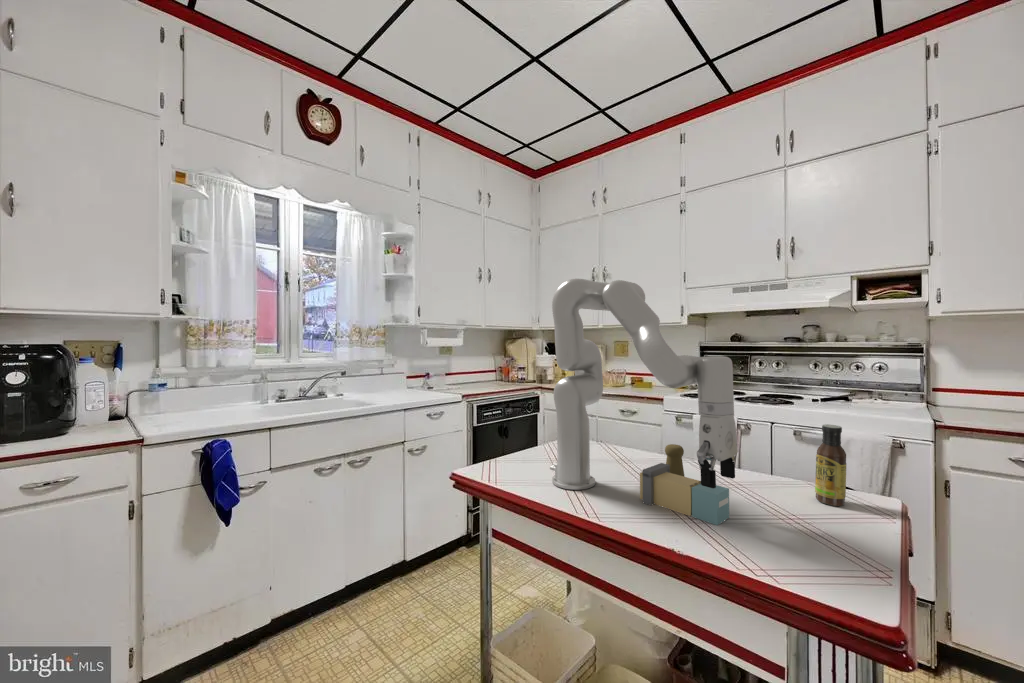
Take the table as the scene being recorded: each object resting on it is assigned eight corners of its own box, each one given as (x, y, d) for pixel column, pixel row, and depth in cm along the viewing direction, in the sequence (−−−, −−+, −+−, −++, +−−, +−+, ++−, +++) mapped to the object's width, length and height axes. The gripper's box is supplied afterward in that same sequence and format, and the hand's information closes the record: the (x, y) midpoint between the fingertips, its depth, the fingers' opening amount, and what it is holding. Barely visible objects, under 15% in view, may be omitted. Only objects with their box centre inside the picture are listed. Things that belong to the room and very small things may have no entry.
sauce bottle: (809, 498, 111) (809, 423, 110) (829, 497, 112) (829, 422, 111) (831, 508, 104) (831, 428, 104) (853, 506, 105) (852, 427, 105)
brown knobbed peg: (681, 478, 127) (681, 442, 127) (688, 485, 121) (688, 447, 121) (661, 478, 128) (661, 442, 127) (666, 485, 122) (666, 447, 121)
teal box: (691, 516, 100) (691, 487, 100) (704, 509, 104) (704, 481, 104) (718, 525, 96) (717, 494, 96) (729, 518, 99) (729, 488, 99)
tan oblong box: (636, 500, 111) (636, 468, 110) (655, 492, 116) (655, 461, 116) (687, 518, 100) (687, 481, 100) (705, 508, 105) (705, 473, 105)
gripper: (714, 415, 90) (717, 495, 90) (748, 406, 101) (750, 477, 101) (681, 411, 96) (684, 486, 96) (716, 403, 107) (719, 470, 107)
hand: (718, 481), depth 99 cm, fingers open, 9 cm apart
